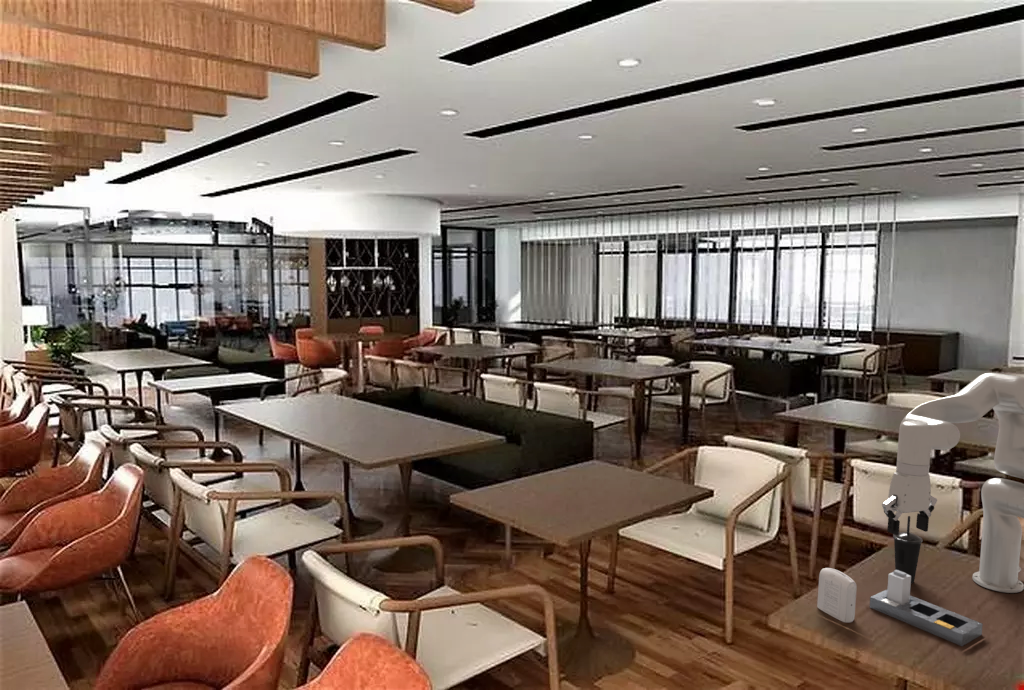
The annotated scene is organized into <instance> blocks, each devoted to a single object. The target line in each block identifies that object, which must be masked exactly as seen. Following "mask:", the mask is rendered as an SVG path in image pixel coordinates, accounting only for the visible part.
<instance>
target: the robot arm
mask: <svg viewBox="0 0 1024 690" xmlns="http://www.w3.org/2000/svg"><path fill="white" fill-rule="evenodd" d="M991 410H993V411H994V413H995V415H996V417H997V420H998V434H997V439H996V444H995V450H994V456H993V467H994V468H995V470H996V471H997V472H999V473H1001V474H1004V475H1008V476H1010V477H1015V478H1019V479H1023V480H1024V376H1020V375H1019V376H1018V375H1011V374H1006V373H1005V374H1003V373H998V372H997V373H996V372H986V373H982V374H980V375H978V376H977V377H976V378H974V379H973V380H972V381H970V382H969V383H968V384H967V385H966V386H964V387H963V388H962V389H960V390H959V391H958V392H957V393H955V394H953V395H948V396H945V397H940V398H937V399H934V400H930V401H926V402H924V403H921V404H918V405H917V406H916V407H914V408H913V409H912V410H911V411H910V412H908V413H907V414H906V415H905V416H904V417H903V419H902V420H901V422H900V425H899V428H898V441H897V442H898V443H897V454H896V455H897V457H896V469H895V471H894V472H893V474H892V477H891V480H890V485H889V489H888V497H887V499H886V500H885V501H883V502H882V503H881V506H882V509H883V512H884V514H885V515H886V518H887V530H886V531H887V532H888V533H890V534H892V535H893V534H894V535H899V532H900V524H901V523H900V521H901V520H899V519H900V517H901V515H903V514H909V513H916V512H918V513H916V514H917V515H916V523H915V526H916V527H915V528H916V529H917V530H921V531H923V532H927V533H928V531H929V523H930V522H929V521H930V517H931V516H932V512H933V511H934V509H935V506H936V504H937V502H938V499H937V498H936V497H935V496H932V495H931V494H932V493H931V490H932V486H931V478H930V477H931V476H930V468H931V463H930V462H931V451H932V450H942V451H944V450H945V451H947V450H951V449H952V448H954V447H956V446H957V444H958V443H959V442H960V439H961V432H960V430H959V428H958V426H957V425H955V424H961V423H962V424H963V423H971V422H975V421H978V420H980V419H981V418H982V417H983V416H985V415H987V413H988V412H990V411H991ZM980 495H981V502H982V512H983V519H982V520H983V521H982V532H981V534H982V535H981V543H980V544H981V545H980V558H979V569H978V571H975V572H974V573H972V580H973V582H975V584H977V585H979V586H981V587H983V588H986V589H988V590H991V591H995V592H1000V593H1007V594H1009V593H1010V594H1014V593H1015V594H1016V593H1020V592H1023V590H1024V583H1023V582H1022V581H1021V580H1020V579H1018V578H1019V573H1020V572H1021V571H1022V568H1021V566H1020V556H1021V546H1022V535H1023V534H1022V533H1023V529H1022V524H1021V521H1020V519H1019V518H1021V519H1024V483H1023V482H1019V481H1015V480H1011V479H1007V478H1000V477H993V478H989V479H987V480H986V481H985V482H984V483H983V484H982V486H981V493H980ZM895 512H896V513H895Z"/></svg>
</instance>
